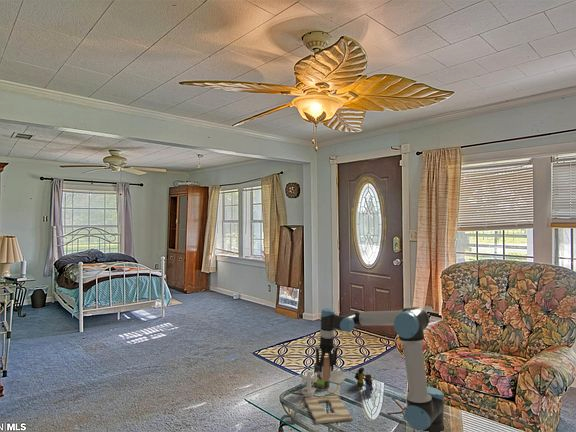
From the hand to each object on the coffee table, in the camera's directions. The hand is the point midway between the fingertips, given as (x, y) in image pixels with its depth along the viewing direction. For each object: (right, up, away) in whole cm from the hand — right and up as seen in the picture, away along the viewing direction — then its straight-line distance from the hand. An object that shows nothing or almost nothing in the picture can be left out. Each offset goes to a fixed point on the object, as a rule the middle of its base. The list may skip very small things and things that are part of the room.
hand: (325, 377), depth 216 cm
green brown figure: (0, -16, +23) cm, 28 cm away
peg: (0, -1, 0) cm, 1 cm away
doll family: (+26, -17, +19) cm, 37 cm away
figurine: (-9, -16, +11) cm, 22 cm away
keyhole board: (+1, -17, -5) cm, 17 cm away
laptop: (+11, -16, +38) cm, 42 cm away
